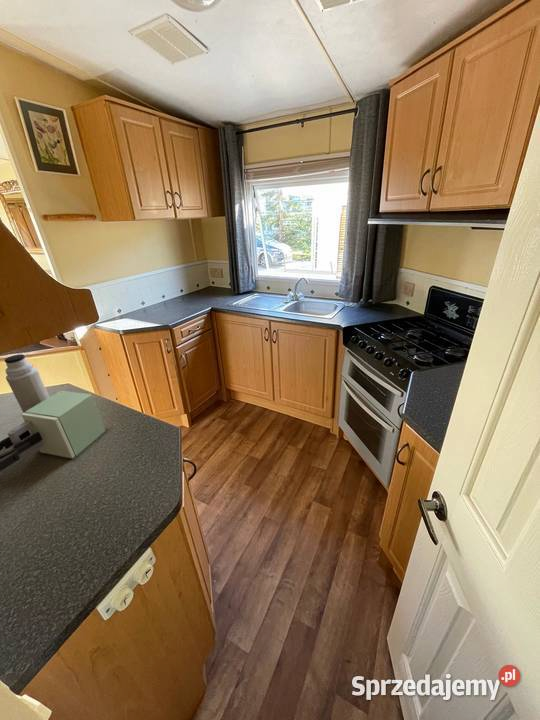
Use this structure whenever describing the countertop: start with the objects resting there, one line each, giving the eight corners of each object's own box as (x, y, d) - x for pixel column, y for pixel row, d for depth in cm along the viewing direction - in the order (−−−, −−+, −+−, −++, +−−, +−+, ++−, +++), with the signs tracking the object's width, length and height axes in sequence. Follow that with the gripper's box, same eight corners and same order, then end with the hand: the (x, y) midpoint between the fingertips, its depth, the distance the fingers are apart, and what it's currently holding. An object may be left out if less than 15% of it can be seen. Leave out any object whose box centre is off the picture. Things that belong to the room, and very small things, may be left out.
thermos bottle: (29, 433, 100) (-9, 360, 88) (53, 419, 107) (21, 350, 94) (42, 439, 97) (5, 364, 85) (66, 425, 103) (35, 353, 91)
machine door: (54, 473, 83) (34, 433, 76) (21, 466, 86) (-1, 427, 80) (75, 456, 89) (57, 417, 82) (43, 450, 92) (24, 412, 86)
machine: (76, 456, 89) (58, 416, 82) (44, 449, 92) (24, 411, 86) (105, 431, 99) (91, 394, 93) (75, 426, 102) (60, 390, 96)
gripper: (-81, 493, 73) (22, 435, 91) (-46, 519, 65) (57, 451, 84) (-99, 472, 69) (11, 416, 88) (-64, 496, 62) (48, 430, 81)
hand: (34, 433), depth 86 cm, fingers open, 5 cm apart
